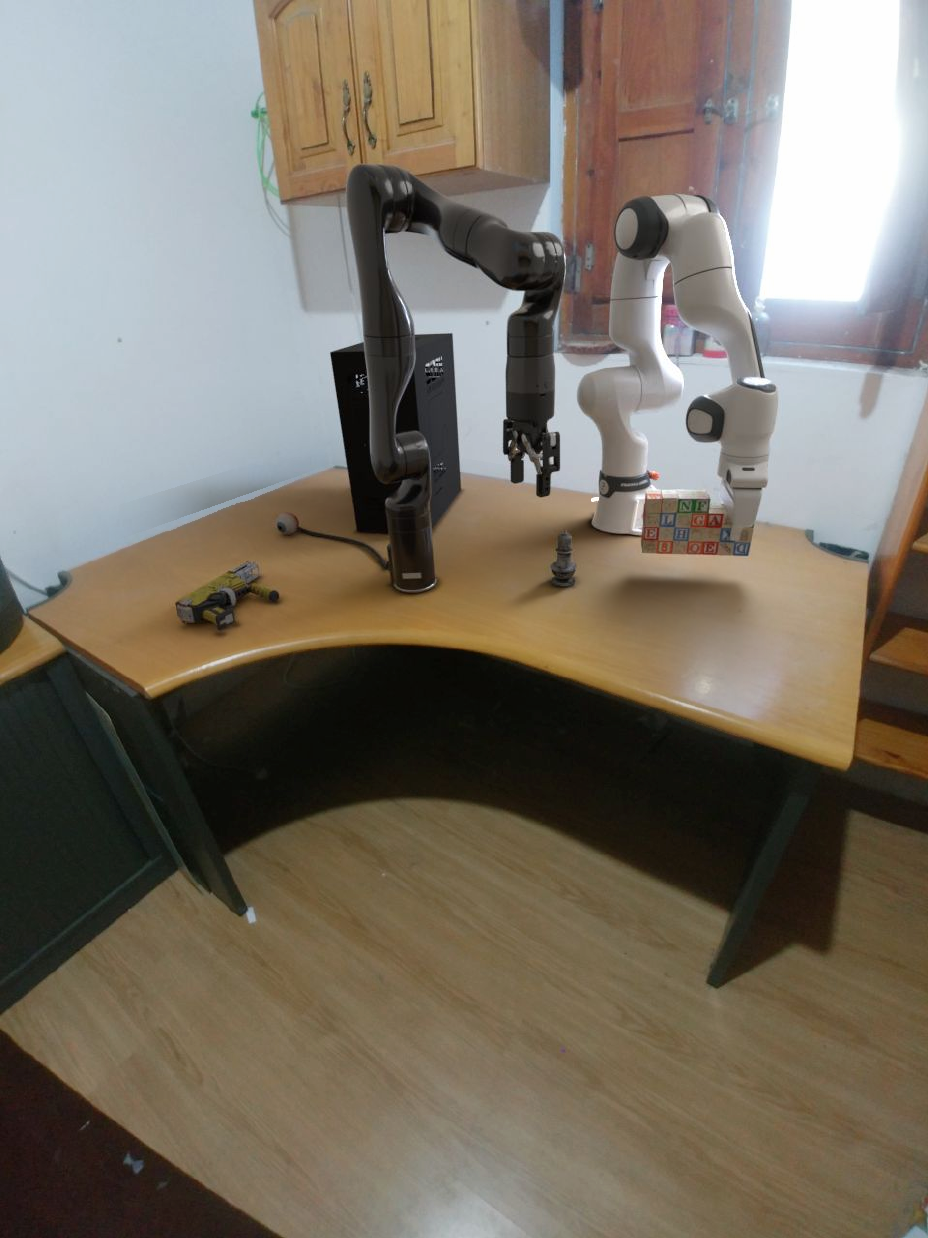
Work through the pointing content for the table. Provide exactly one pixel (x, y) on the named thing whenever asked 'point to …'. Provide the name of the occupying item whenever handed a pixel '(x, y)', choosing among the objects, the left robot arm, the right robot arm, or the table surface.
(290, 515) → the eyeball
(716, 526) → the stack of blocks
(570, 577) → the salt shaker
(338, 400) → the cardboard box
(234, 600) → the toy gun
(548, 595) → the table surface
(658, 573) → the table surface
